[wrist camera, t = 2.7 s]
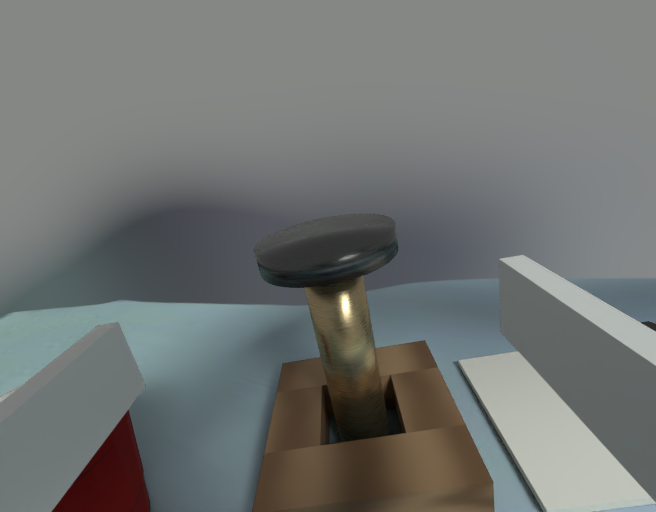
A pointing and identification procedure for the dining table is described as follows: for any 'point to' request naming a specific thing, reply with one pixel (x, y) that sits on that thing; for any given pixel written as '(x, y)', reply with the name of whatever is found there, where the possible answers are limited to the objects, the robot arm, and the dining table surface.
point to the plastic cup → (109, 476)
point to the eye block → (372, 446)
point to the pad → (549, 439)
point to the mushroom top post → (338, 306)
